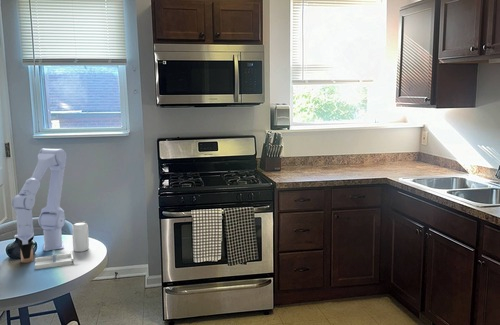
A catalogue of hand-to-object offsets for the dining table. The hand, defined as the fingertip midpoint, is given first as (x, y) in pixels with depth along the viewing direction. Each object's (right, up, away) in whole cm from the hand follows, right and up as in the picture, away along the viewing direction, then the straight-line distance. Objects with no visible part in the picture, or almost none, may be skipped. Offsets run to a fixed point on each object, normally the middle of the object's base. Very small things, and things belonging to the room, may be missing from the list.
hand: (27, 256), depth 178 cm
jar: (0, -2, 0) cm, 2 cm away
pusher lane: (+12, -2, -2) cm, 12 cm away
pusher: (+12, -2, -2) cm, 12 cm away
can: (+17, 0, +14) cm, 22 cm away
